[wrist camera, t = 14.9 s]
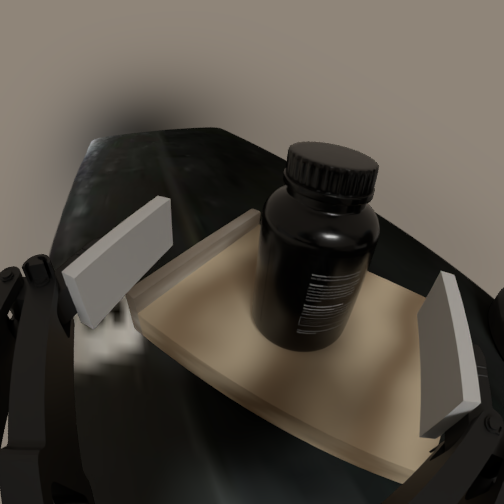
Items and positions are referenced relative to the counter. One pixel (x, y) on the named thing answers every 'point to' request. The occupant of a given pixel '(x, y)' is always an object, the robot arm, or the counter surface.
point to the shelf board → (294, 354)
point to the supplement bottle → (315, 246)
